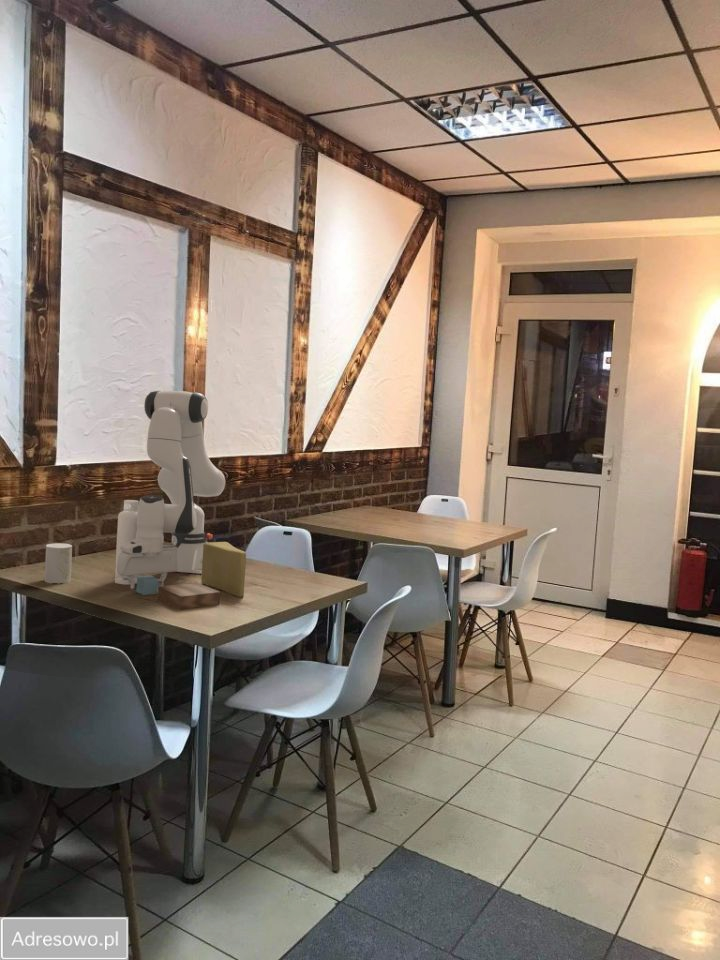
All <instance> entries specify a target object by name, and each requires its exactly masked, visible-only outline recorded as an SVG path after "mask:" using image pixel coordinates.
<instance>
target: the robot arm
mask: <svg viewBox="0 0 720 960" xmlns="http://www.w3.org/2000/svg"><path fill="white" fill-rule="evenodd" d="M143 404H144V413H145V415H146V416H147V418H148V420H150V422H149V426H148V431H147V440H146V441H147V443H146V452H147V456H148V458H149V459H150V460H151V462H153V463H154V464H155V465H157V466H158V467H161V469H160V470H159V472H158V475H157V483H158V486H159V488H160V490H161V491H163V492H164V493H165V494H166V495H167V497H168V498H169V500H170V502H171V503H165V500H164V498H163V496H160V495H157V494H148V495H143V496H141V497H140V499H139V500H138V501H139V502H138V511H137V533H136V539H134V540H131V541H129V542H126V543H124V544H122V545H121V547H120V549H121V550H122V551H123V552H121V553H120V555H119V557H118V563H117V572H118V574H119V575H121V576H128V577H127V578H128V579H127V580H129V581H130V583H131V584H129V585H130V589H131V590H134V589H136V588H137V583H135V582H134V580H133V579H134V578H135V575H139V576H145V575H151V574H152V575H153V574H159V575H160V577H159V578H158V587H159V586H164V581H165V579H166V578H167V576H168V573H174V572H178V573H188V574H189V573H191V574H202V560H203V545H204V543H209V541H208V540H212V539H213V536H214V535H213V534H212V533H206V532H205V531H204V530H205V529H204V527H205V512H204V510H203V509H202V508H201V506H199V505H197V504H196V503H195V498H194V496H195V497H196V496H197V497H203V498H208V497H209V498H210V497H218V496H220V495H221V494H222V492H223V491H224V490H225V488H226V476H225V475H224V473H223V471H221V470H220V469H219V468H217V467H216V466H215V465H214V464H213V463H212V461H211V460H210V457H209V456H208V453H207V451H206V447H205V440H204V430H203V429H204V428H203V421H204V420H205V419H206V418H207V415H208V411H209V403H208V400H207V398H206V397H205V395H204V394H203V393H199V392H196V391H195V392H189V391H185V390H163V391H162V390H154V391H150V392H149V393H148V394H147V396H146V397H145V399H144V403H143ZM164 533H168V534H169V533H170V534H171V543H169V544H167V543H164V539H165V536H164Z"/></svg>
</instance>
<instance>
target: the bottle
mask: <svg viewBox="0 0 720 960" xmlns="http://www.w3.org/2000/svg"><path fill="white" fill-rule="evenodd" d="M139 501H140V500H137V499H124V500H123V510H122V511H121V512H119V513H118V516H117V530H116V531H117V534H116V549H115V551H116V553H115V571H114V575H115V576H114V583H115V584H118V585H119V584H120V585H130V584H131V583H130V581H129V580H128V578H127V577H128V576H121V575H119V574H118V572H117V563H118V557H119V555H120V553H121V552H123V551H122V550H121V549H120V547H121V545H122V544H124V543H126V542H129V541H131V540H134V539H136V533H137V511H138V506H139ZM137 577H140V575H135V578H134V579H133V580H134V582H135V583H137Z"/></svg>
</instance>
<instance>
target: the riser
mask: <svg viewBox="0 0 720 960" xmlns="http://www.w3.org/2000/svg"><path fill="white" fill-rule="evenodd" d="M157 600H159V601H161V602H163V603H165V604H168V605H170V606H172V607H174V608H177V609H179V610H186V609H194V608H200V607H201V608H202V607H207V606H216V605H220V600H221V591H219V590H218V589H215V588H213V587H212V588H211V587H210V586H208V585H205V584H203V583H199V582H189V583H179V584H178V583H177V584H170V585H163V586H158V593H157Z"/></svg>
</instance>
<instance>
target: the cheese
mask: <svg viewBox="0 0 720 960" xmlns="http://www.w3.org/2000/svg"><path fill="white" fill-rule="evenodd" d="M246 566H247V553H246V552H245V551H244V550H241V549H240V548H237V547H235V546H233V544H230V542H227V541H217V542H216V541H212V542H210V541H208V543H204V545H203V560H202V573H201V575H200V576H201V578H200V579H201V580H200V581H201V582H200V584H202V585H204V586H207V587H210V588H211V587H212V588H214V589H217V590H220V591H224V592H225V593H227V594H230V595H232V596H235V597H239V598H243V597H245V596H244V595H245V594H244V593H245V582H246V581H245V578H246V570H247V569H246Z"/></svg>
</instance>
